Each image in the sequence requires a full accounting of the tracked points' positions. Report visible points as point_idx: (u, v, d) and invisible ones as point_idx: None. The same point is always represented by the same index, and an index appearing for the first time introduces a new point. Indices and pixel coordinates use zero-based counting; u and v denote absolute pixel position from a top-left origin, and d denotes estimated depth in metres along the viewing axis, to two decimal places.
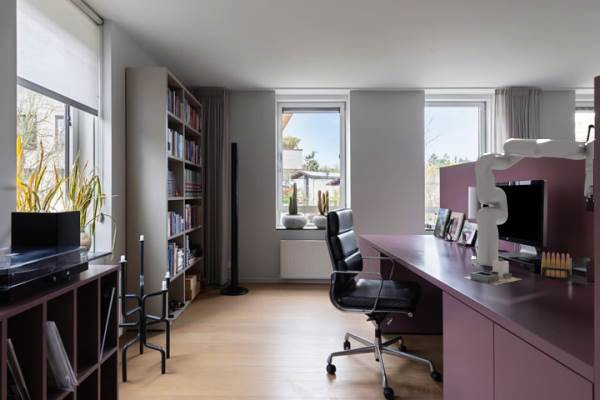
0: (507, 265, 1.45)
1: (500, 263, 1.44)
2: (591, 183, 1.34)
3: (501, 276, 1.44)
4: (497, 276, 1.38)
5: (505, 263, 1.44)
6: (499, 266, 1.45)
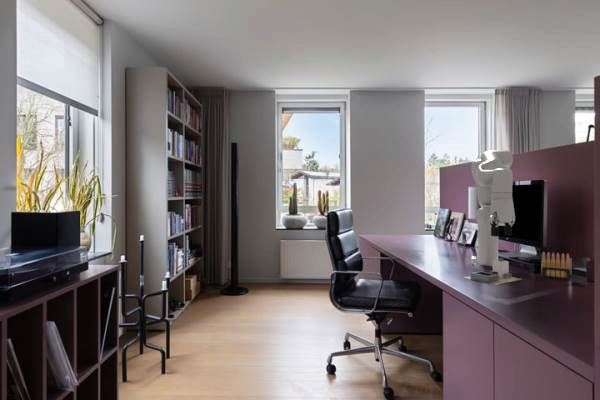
0: (507, 265, 1.45)
1: (500, 263, 1.44)
2: (494, 210, 1.44)
3: (501, 276, 1.44)
4: (497, 276, 1.38)
5: (505, 263, 1.44)
6: (499, 266, 1.45)
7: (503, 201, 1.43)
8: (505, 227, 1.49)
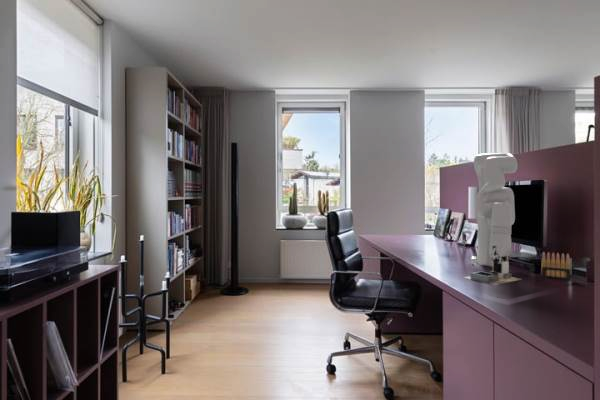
0: (507, 265, 1.45)
1: (500, 263, 1.44)
2: (494, 244, 1.44)
3: (501, 276, 1.44)
4: (497, 276, 1.38)
5: (505, 263, 1.44)
6: None
7: (502, 235, 1.43)
8: None
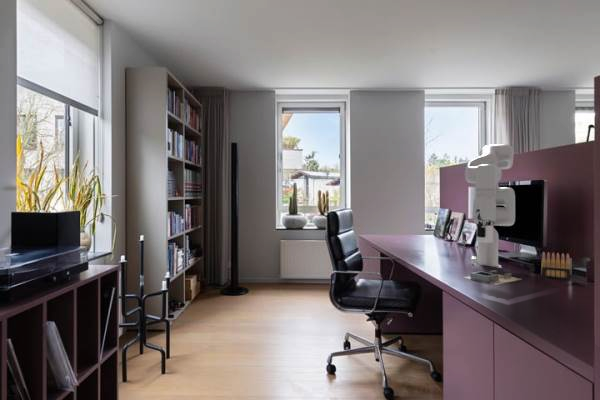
0: (492, 230, 1.40)
1: (484, 227, 1.39)
2: (477, 207, 1.39)
3: (485, 240, 1.38)
4: (497, 276, 1.38)
5: (489, 227, 1.39)
6: None
7: (486, 198, 1.38)
8: None
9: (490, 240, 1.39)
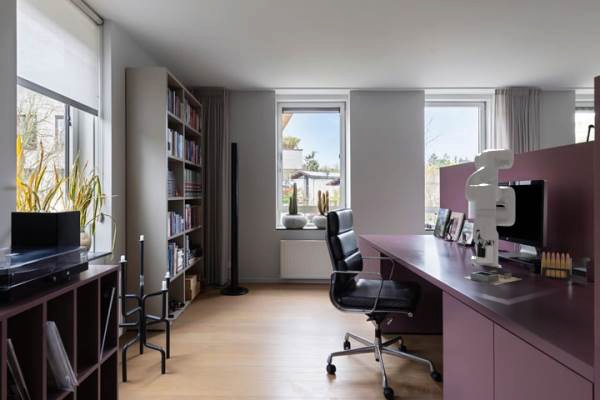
0: (492, 250, 1.39)
1: (484, 247, 1.38)
2: (477, 227, 1.38)
3: (485, 261, 1.37)
4: (497, 276, 1.38)
5: (489, 247, 1.38)
6: None
7: (486, 218, 1.37)
8: None
9: (490, 260, 1.38)
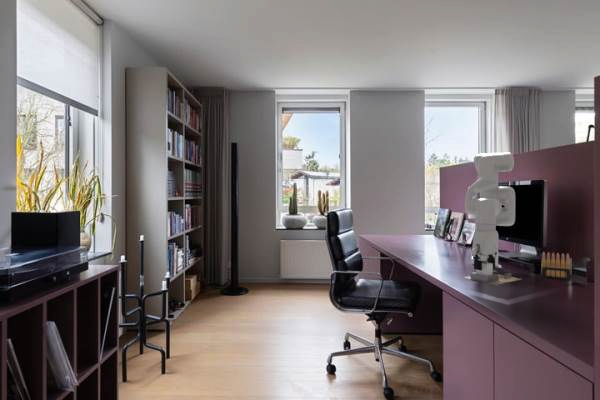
0: (491, 268, 1.39)
1: (483, 266, 1.38)
2: (477, 242, 1.38)
3: None
4: (497, 276, 1.38)
5: (489, 265, 1.38)
6: (482, 268, 1.39)
7: (486, 233, 1.37)
8: (489, 259, 1.43)
9: None
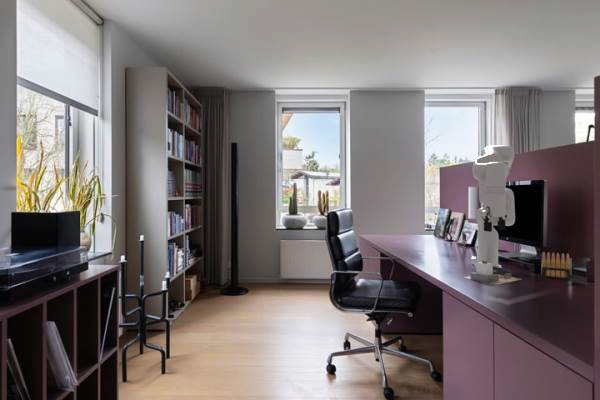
0: (491, 268, 1.39)
1: (483, 266, 1.38)
2: (487, 204, 1.41)
3: None
4: (497, 276, 1.38)
5: (489, 265, 1.38)
6: (482, 268, 1.39)
7: (496, 195, 1.40)
8: (499, 221, 1.46)
9: None
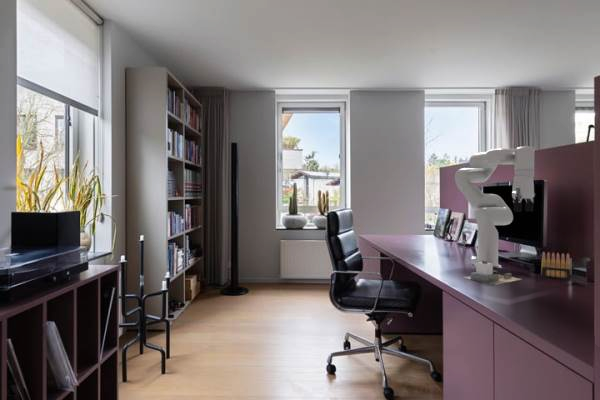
0: (491, 268, 1.39)
1: (483, 266, 1.38)
2: (517, 186, 1.49)
3: None
4: (497, 276, 1.38)
5: (489, 265, 1.38)
6: (482, 268, 1.39)
7: (526, 177, 1.48)
8: (527, 203, 1.54)
9: None
